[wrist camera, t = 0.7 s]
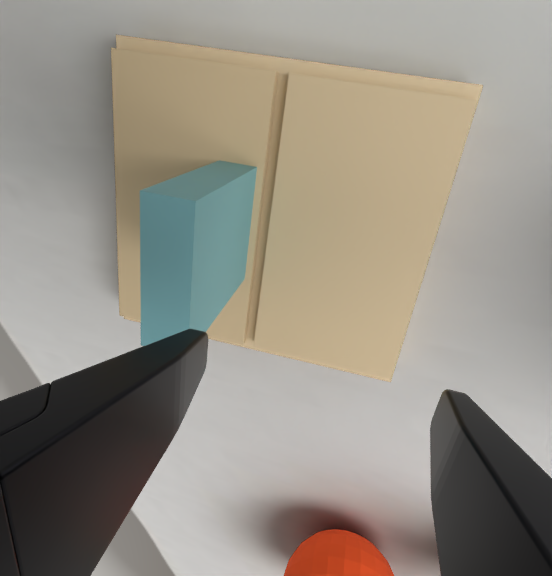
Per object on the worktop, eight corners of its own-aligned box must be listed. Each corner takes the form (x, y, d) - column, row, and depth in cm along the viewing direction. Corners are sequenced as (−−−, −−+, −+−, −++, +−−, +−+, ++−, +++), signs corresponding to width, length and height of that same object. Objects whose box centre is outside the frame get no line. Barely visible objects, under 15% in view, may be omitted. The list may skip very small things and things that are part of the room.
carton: (473, 86, 16) (486, 84, 14) (389, 363, 22) (390, 388, 20) (134, 39, 18) (106, 32, 16) (137, 304, 24) (116, 322, 22)
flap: (278, 72, 16) (215, 53, 10) (246, 339, 21) (191, 440, 15) (117, 49, 17) (-36, 17, 10) (124, 311, 22) (24, 395, 16)
